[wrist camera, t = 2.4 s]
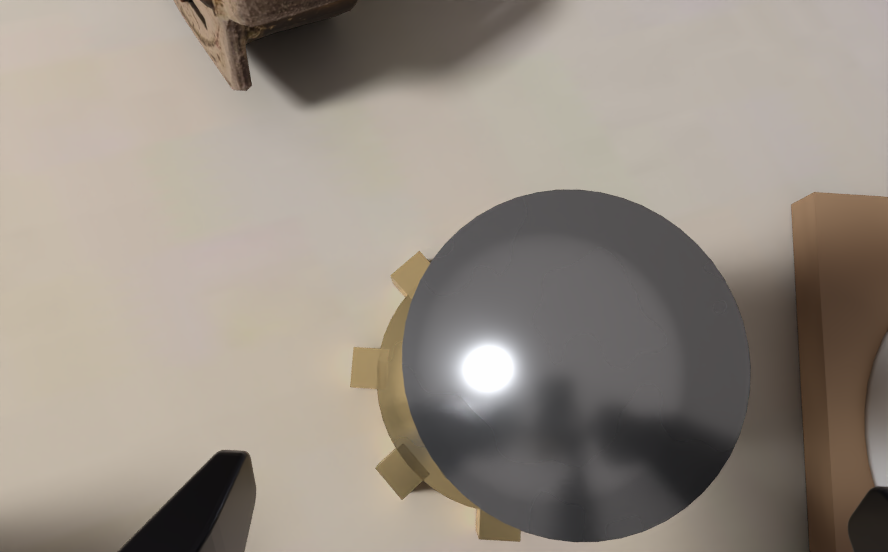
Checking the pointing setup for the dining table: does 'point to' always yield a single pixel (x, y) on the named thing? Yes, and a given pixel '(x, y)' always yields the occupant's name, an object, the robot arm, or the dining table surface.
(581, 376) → the loose gear
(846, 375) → the gear board
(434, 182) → the dining table surface
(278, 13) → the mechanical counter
